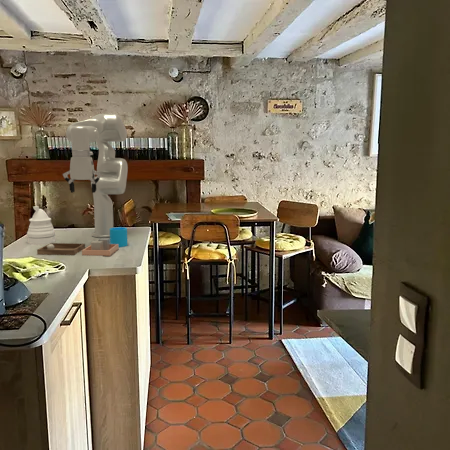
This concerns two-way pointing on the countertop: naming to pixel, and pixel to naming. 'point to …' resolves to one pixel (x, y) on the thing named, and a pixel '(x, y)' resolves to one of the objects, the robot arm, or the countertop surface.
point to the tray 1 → (61, 249)
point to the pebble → (50, 247)
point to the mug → (118, 236)
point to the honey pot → (40, 228)
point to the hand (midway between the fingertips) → (83, 192)
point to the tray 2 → (101, 251)
